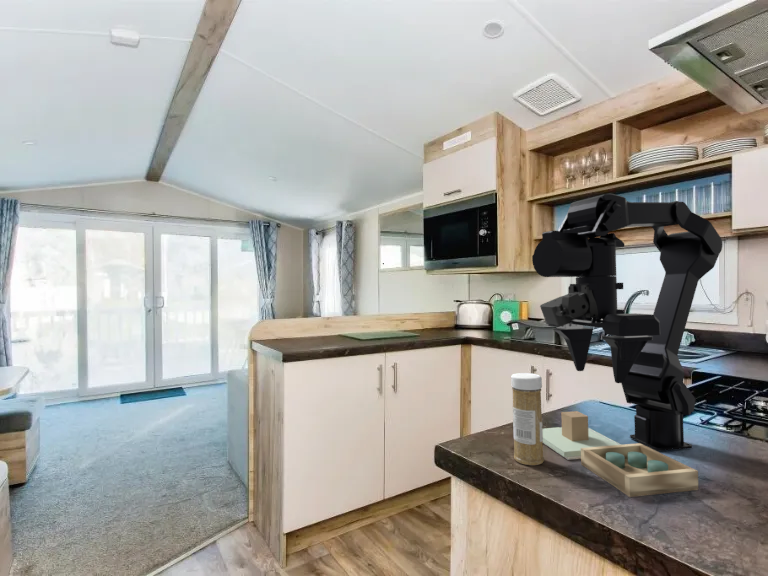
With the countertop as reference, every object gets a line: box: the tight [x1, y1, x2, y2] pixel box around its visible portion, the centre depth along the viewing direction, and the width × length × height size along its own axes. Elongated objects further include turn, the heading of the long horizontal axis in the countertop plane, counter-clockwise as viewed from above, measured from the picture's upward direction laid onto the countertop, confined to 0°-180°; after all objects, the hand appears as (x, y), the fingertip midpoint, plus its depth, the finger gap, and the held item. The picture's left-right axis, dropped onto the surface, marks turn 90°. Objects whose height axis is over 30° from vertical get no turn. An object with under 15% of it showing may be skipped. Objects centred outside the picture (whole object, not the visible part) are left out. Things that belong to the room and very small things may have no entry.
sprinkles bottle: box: [510, 372, 545, 466], centre depth 64 cm, size 5×5×13 cm
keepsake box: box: [580, 442, 699, 498], centre depth 58 cm, size 10×10×2 cm
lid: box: [543, 410, 622, 458], centre depth 70 cm, size 11×11×5 cm
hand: (598, 376), depth 64 cm, fingers open, 9 cm apart
